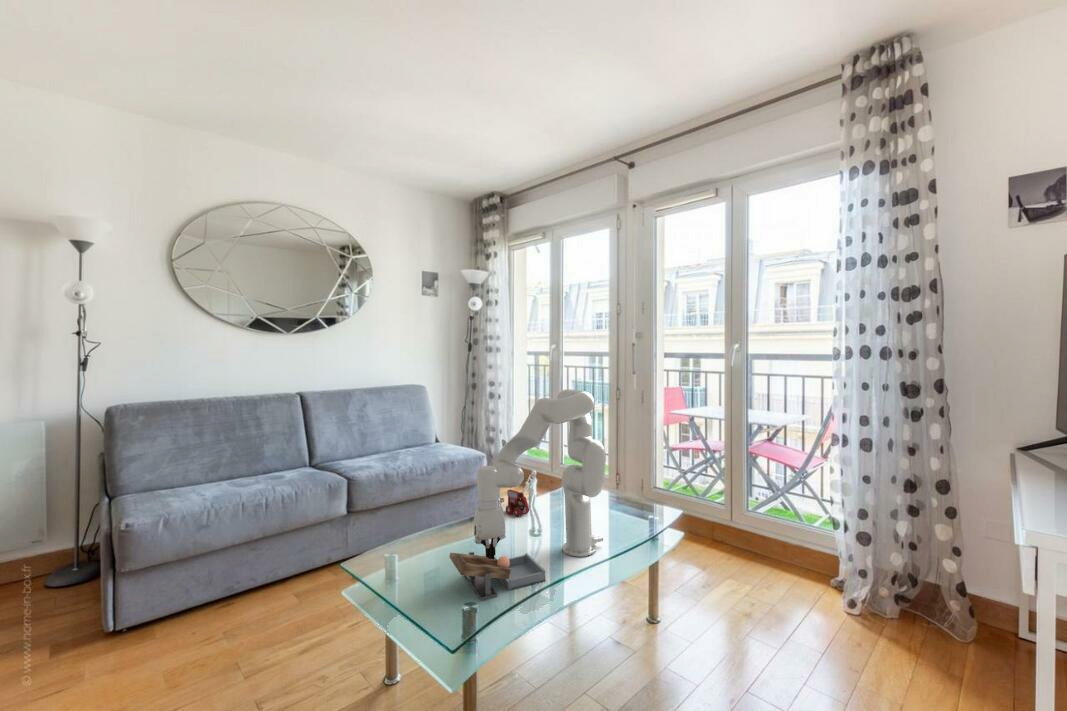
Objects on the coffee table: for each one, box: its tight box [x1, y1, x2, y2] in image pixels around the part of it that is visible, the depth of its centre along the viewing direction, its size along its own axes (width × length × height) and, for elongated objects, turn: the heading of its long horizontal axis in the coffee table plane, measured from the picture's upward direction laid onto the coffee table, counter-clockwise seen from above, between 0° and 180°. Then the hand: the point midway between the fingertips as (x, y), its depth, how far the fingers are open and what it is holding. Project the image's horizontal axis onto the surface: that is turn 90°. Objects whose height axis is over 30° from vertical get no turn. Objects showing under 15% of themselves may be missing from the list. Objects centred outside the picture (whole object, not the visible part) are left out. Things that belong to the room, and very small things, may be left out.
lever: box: [449, 552, 511, 579], centre depth 152 cm, size 16×15×4 cm
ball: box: [497, 555, 510, 568], centre depth 152 cm, size 4×4×4 cm
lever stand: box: [463, 551, 498, 602], centre depth 152 cm, size 5×19×8 cm, turn 24°
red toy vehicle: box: [505, 489, 530, 518], centre depth 218 cm, size 7×12×10 cm, turn 47°
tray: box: [498, 552, 547, 591], centre depth 157 cm, size 13×15×4 cm
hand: (490, 558), depth 159 cm, fingers closed
